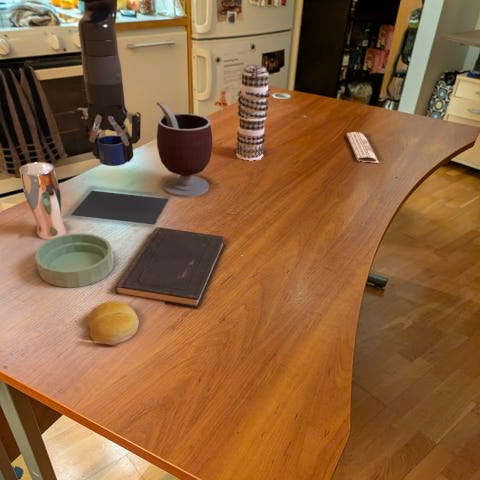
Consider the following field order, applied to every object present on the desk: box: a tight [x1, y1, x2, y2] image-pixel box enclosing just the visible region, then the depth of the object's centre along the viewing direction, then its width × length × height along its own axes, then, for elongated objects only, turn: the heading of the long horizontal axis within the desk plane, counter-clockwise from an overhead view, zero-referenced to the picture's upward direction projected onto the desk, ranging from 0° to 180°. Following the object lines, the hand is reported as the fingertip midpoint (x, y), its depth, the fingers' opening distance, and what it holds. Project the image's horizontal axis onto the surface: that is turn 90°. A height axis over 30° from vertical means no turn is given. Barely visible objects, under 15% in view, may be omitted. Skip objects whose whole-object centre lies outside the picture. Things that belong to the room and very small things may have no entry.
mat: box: [70, 190, 169, 225], centre depth 112 cm, size 20×16×1 cm
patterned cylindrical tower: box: [235, 64, 271, 162], centre depth 136 cm, size 9×9×25 cm
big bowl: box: [34, 232, 114, 289], centre depth 91 cm, size 14×14×4 cm
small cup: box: [96, 134, 128, 167], centre depth 103 cm, size 6×6×5 cm
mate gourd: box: [156, 101, 213, 198], centre depth 118 cm, size 16×14×20 cm
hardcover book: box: [114, 226, 226, 309], centre depth 93 cm, size 16×23×2 cm
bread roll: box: [87, 300, 140, 345], centre depth 78 cm, size 8×9×4 cm
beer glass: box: [19, 161, 67, 240], centre depth 97 cm, size 7×7×15 cm
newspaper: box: [346, 131, 380, 164], centre depth 153 cm, size 24×7×2 cm, turn 178°
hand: (113, 159), depth 104 cm, fingers closed on small cup, 6 cm apart
